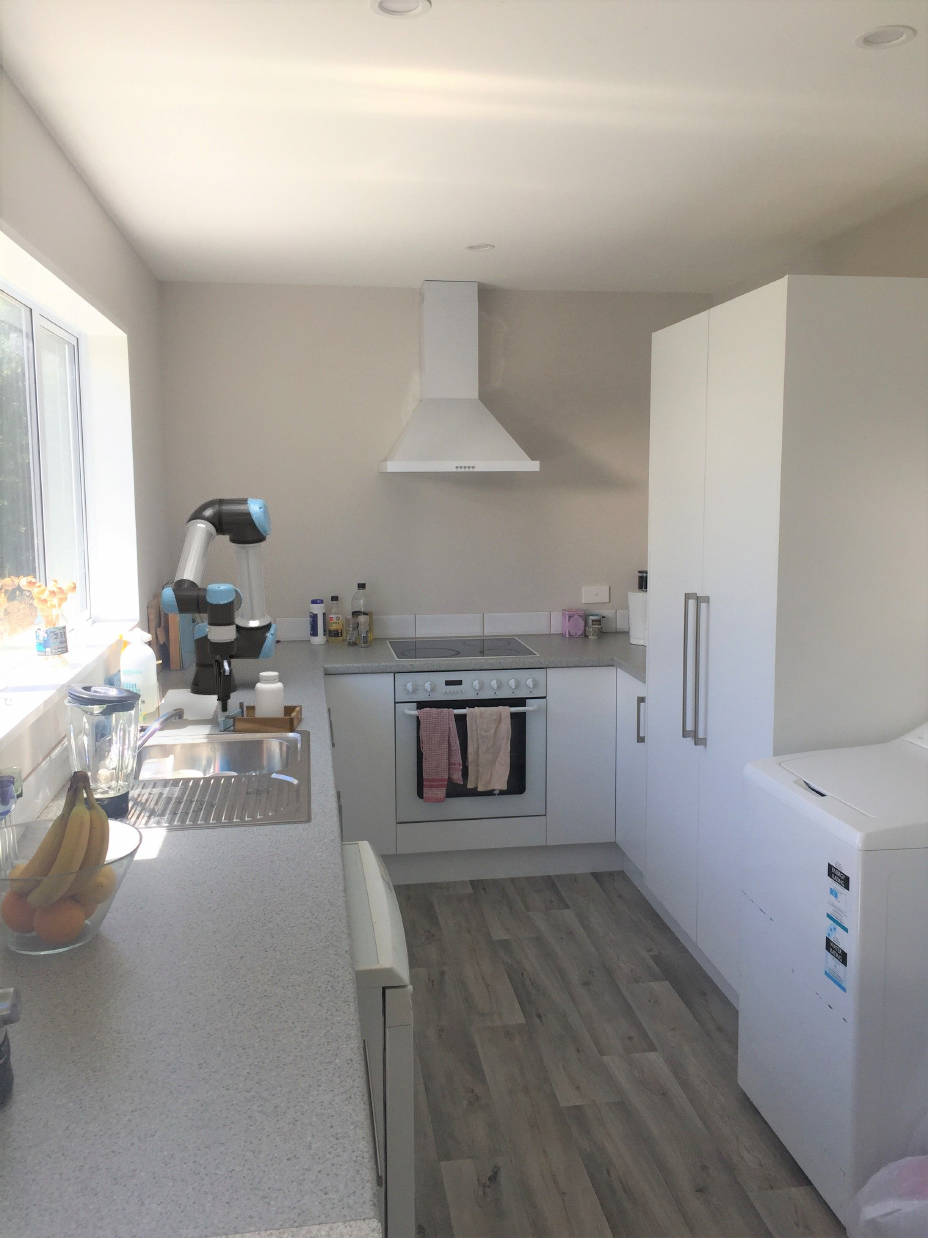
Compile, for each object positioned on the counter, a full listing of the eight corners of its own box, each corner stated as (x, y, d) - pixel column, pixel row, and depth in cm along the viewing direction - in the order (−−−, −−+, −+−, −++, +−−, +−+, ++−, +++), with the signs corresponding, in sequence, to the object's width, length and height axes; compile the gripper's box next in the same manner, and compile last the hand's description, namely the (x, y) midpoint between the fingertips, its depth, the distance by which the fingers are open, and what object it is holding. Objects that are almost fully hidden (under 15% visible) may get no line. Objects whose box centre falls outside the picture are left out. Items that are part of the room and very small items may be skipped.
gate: (238, 719, 275) (238, 709, 275) (241, 719, 275) (241, 709, 275) (219, 730, 262) (219, 719, 262) (223, 730, 262) (222, 720, 261)
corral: (237, 718, 277) (237, 702, 277) (302, 718, 278) (301, 701, 277) (225, 732, 261) (224, 714, 261) (293, 732, 262) (292, 714, 261)
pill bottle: (274, 729, 264) (273, 676, 262) (249, 727, 267) (248, 674, 265) (289, 723, 272) (288, 671, 270) (265, 721, 275) (264, 669, 273)
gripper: (203, 637, 270) (205, 718, 273) (212, 644, 258) (215, 729, 261) (230, 635, 273) (232, 715, 276) (240, 642, 261) (242, 726, 265)
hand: (223, 722), depth 269 cm, fingers closed
